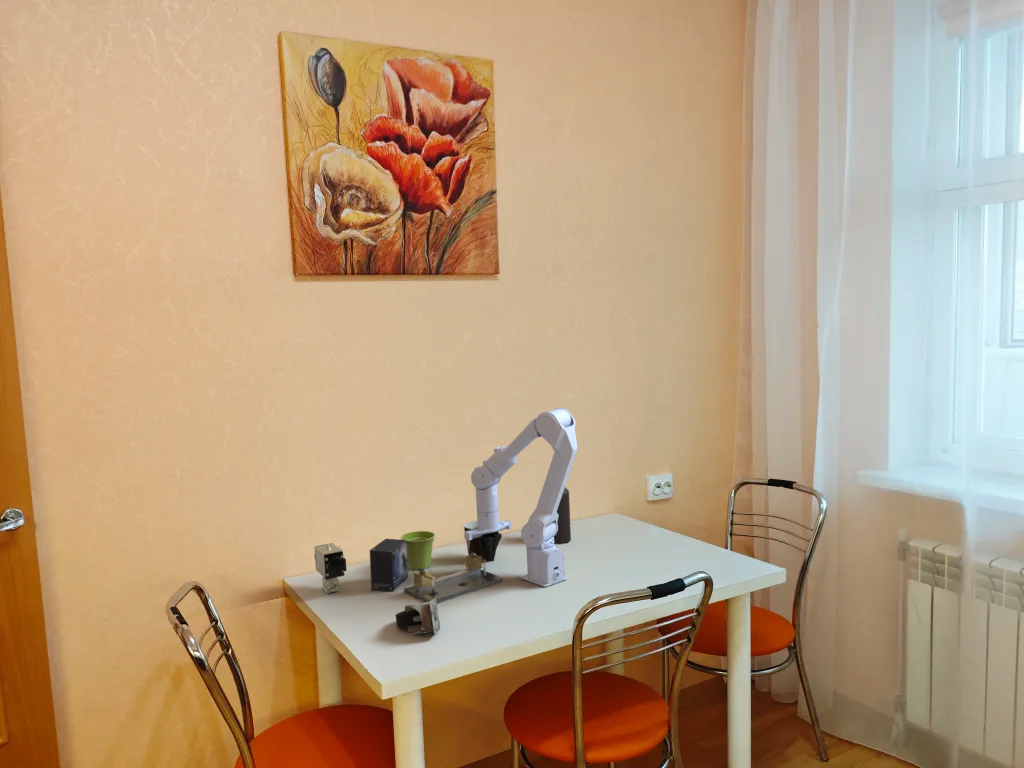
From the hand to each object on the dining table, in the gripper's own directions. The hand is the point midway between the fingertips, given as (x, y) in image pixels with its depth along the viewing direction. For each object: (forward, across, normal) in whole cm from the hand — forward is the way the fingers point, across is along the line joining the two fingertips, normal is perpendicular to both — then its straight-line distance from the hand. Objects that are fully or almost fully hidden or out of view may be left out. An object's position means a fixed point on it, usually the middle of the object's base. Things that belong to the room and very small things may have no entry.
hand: (489, 560), depth 197 cm
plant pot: (+3, +10, -18) cm, 21 cm away
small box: (+3, +23, -12) cm, 26 cm away
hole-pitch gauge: (+3, +13, +2) cm, 14 cm away
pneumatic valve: (+3, +36, -19) cm, 41 cm away
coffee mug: (+3, -6, -11) cm, 13 cm away
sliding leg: (+2, +5, +2) cm, 6 cm away
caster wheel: (+3, +34, +17) cm, 39 cm away
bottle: (+3, -32, -6) cm, 32 cm away
